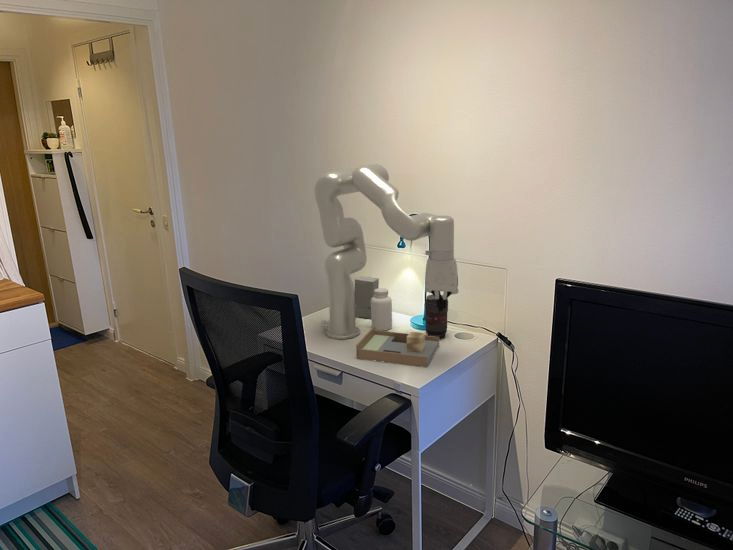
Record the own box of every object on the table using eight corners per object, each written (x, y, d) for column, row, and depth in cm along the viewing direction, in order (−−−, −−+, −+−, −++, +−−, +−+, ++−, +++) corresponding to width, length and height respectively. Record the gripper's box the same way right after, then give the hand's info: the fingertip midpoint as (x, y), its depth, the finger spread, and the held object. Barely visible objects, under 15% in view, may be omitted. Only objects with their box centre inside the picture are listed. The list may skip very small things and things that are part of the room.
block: (406, 350, 189) (406, 336, 187) (410, 345, 193) (410, 331, 192) (421, 352, 187) (421, 338, 186) (424, 346, 191) (424, 333, 190)
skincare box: (353, 317, 228) (352, 279, 223) (360, 311, 234) (359, 275, 230) (373, 319, 224) (372, 281, 220) (379, 314, 231) (379, 276, 226)
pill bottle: (382, 322, 221) (381, 285, 217) (396, 327, 215) (396, 289, 211) (367, 327, 216) (366, 290, 212) (381, 332, 210) (380, 294, 206)
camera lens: (446, 340, 201) (447, 301, 197) (424, 339, 203) (424, 300, 199) (448, 332, 209) (448, 294, 205) (426, 331, 210) (426, 293, 206)
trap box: (356, 358, 188) (356, 344, 187) (374, 339, 205) (373, 326, 203) (426, 367, 180) (426, 352, 179) (439, 346, 197) (439, 332, 195)
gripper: (415, 256, 177) (416, 311, 182) (463, 259, 172) (462, 315, 177) (421, 251, 184) (422, 304, 189) (467, 253, 179) (466, 308, 184)
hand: (441, 309), depth 183 cm, fingers closed
